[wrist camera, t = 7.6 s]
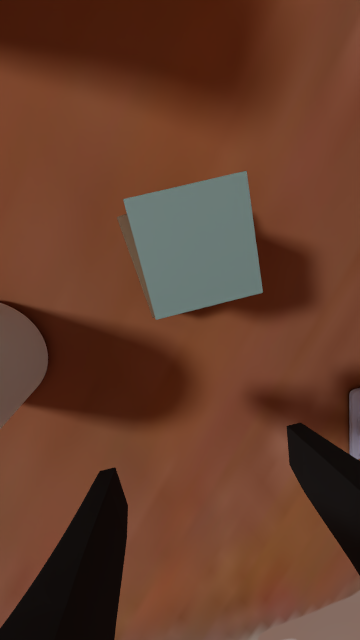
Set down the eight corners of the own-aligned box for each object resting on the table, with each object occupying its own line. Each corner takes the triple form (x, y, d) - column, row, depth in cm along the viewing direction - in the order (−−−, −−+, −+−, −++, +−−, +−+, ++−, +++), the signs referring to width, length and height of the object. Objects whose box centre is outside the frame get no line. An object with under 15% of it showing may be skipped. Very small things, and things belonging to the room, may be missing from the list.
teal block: (213, 201, 13) (246, 171, 9) (227, 280, 15) (263, 292, 10) (134, 220, 13) (123, 199, 8) (155, 298, 14) (155, 319, 10)
